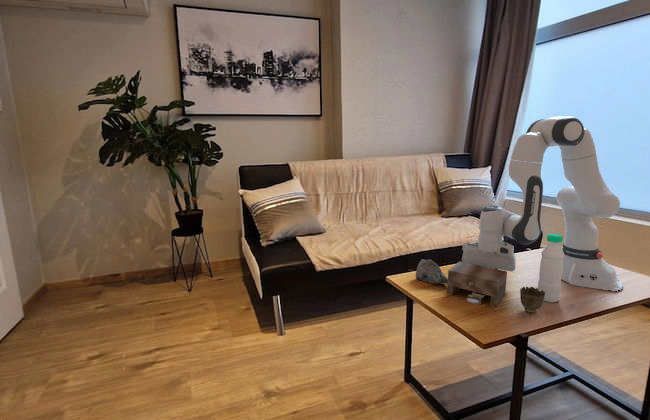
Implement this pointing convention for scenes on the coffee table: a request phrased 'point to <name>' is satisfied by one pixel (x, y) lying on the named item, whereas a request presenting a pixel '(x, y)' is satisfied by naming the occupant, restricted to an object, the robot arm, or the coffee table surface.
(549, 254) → the water bottle
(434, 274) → the mineral rock
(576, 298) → the coffee table surface
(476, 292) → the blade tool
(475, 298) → the steel disc
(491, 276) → the brown bridge block
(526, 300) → the cup
